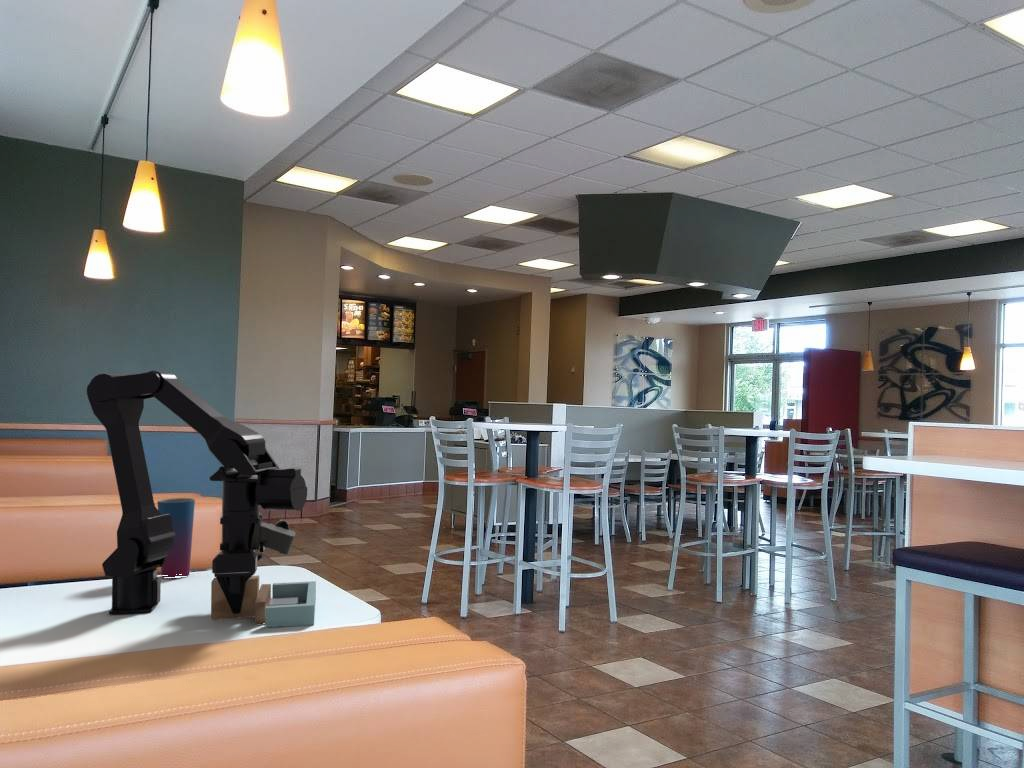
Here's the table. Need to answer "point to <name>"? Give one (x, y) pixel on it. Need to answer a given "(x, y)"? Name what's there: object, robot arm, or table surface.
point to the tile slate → (283, 601)
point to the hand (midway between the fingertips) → (239, 605)
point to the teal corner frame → (292, 613)
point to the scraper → (251, 604)
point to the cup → (178, 535)
